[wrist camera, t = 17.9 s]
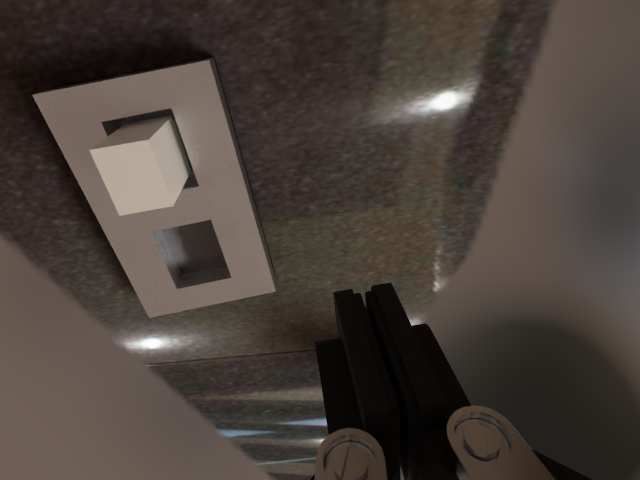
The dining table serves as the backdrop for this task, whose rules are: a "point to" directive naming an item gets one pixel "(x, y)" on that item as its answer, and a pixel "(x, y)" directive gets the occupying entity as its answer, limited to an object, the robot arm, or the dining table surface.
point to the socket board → (194, 199)
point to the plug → (143, 165)
